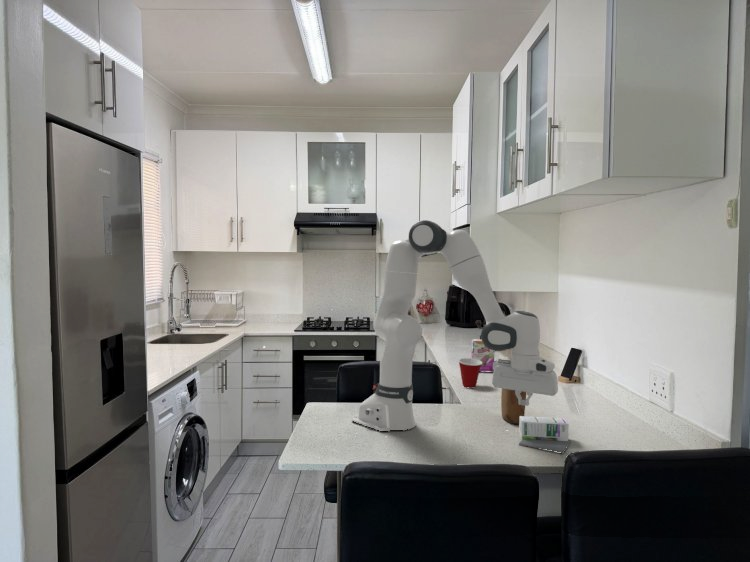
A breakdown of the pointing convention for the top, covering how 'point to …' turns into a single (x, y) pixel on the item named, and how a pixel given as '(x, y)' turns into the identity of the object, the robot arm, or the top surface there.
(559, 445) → the mat
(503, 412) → the block
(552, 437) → the syrup box
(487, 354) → the candy bar box
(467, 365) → the plastic cup
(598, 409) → the top surface
